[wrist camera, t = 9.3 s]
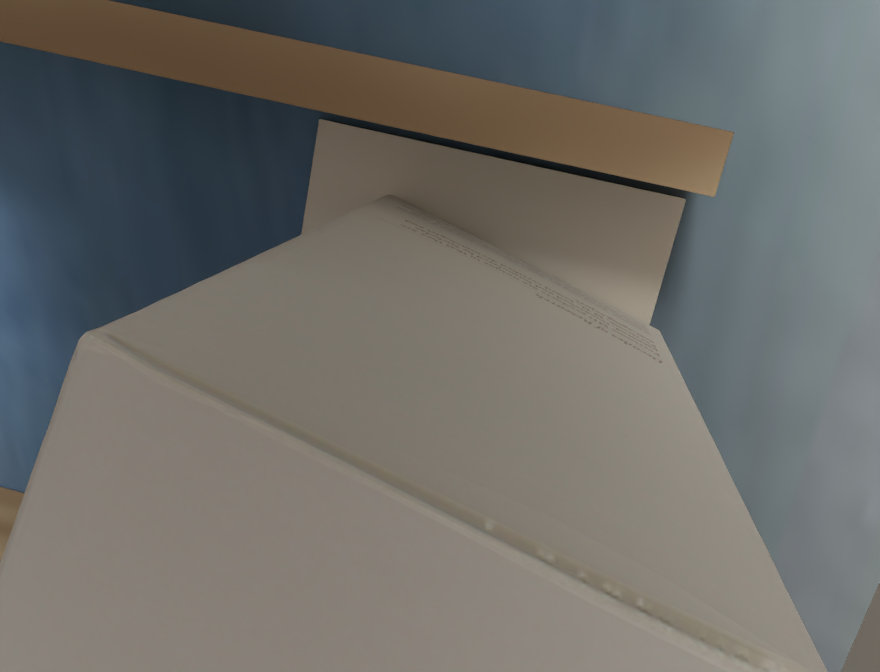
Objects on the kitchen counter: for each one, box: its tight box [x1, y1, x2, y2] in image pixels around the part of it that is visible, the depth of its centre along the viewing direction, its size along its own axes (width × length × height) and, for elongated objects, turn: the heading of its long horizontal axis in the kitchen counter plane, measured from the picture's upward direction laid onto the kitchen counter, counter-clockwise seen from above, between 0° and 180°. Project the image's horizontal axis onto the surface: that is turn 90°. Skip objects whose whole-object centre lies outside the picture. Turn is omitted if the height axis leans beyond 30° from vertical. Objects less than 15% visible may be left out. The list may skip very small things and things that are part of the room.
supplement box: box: [0, 195, 827, 672], centre depth 14 cm, size 7×7×13 cm
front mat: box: [301, 119, 686, 325], centre depth 20 cm, size 11×8×1 cm
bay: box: [0, 0, 734, 562], centre depth 19 cm, size 14×24×3 cm, turn 78°
